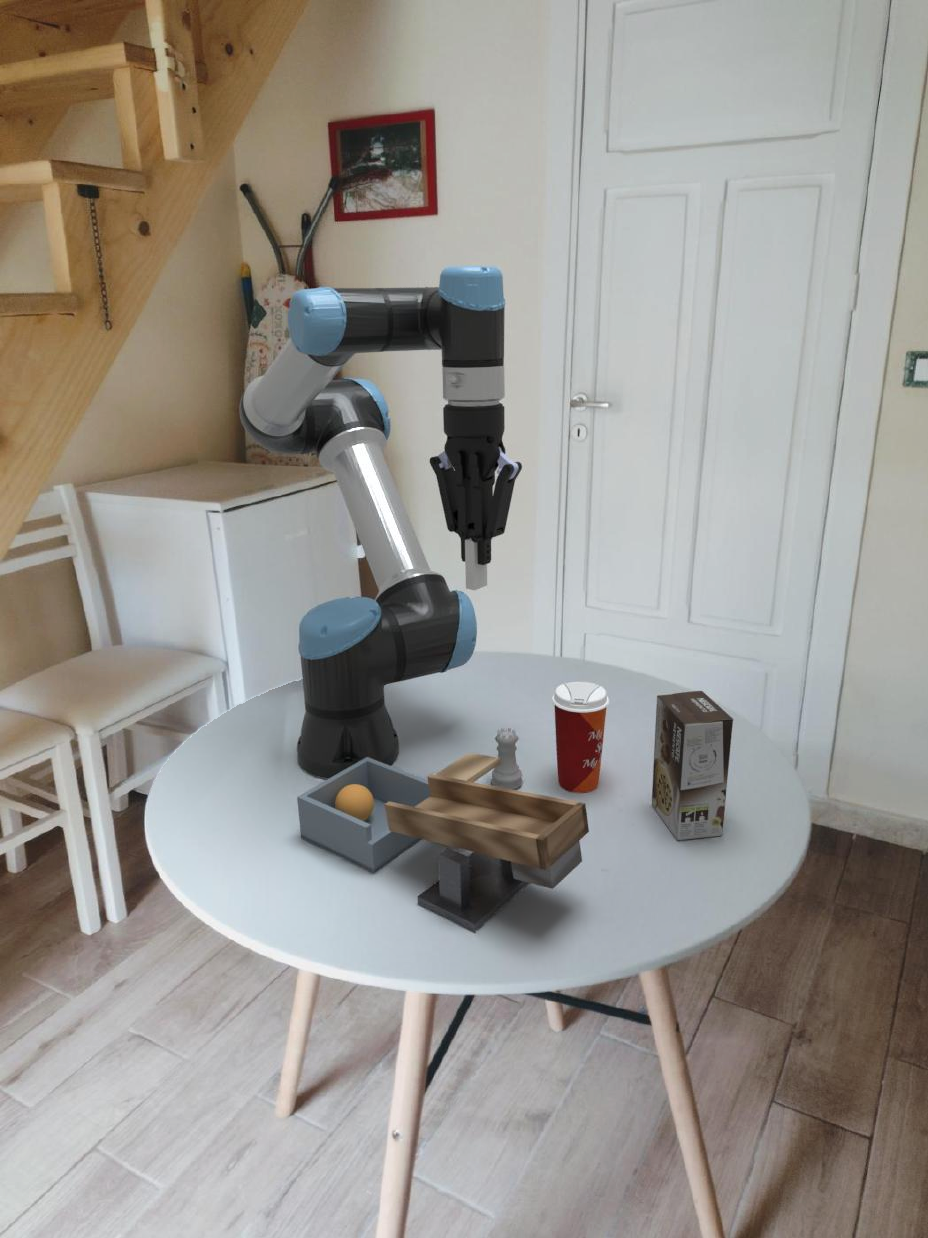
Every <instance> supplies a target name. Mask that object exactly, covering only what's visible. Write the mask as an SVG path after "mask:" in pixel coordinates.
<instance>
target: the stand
mask: <svg viewBox="0 0 928 1238" xmlns="http://www.w3.org/2000/svg"><path fill="white" fill-rule="evenodd" d="M437 856H438V857H437V858H438V880H436V881H435V882H433V883H432V885H430V886H429V887H428V888H426V889H424V891H422V892H421V893H420V894H418V895H417V904H418V905H419V906H421V907H423V908H425V909H427V910H429V911H431V912H433V913H436V914H437V915H439V916H441V917H444V918H445V919H447V920H450V921H451V922H453V923H455V924H457V925H460V926H462V927H464V928H466V929H467V930H470V931H472V932H474V933H476V932H477V931H478V930H479V929H480V928H481V927H482V926H483V925H484V924H486V923H487V922H488V921H489V920H490V919H492V917H494V916H495V915H496V914H497V913H498V912H499V911H500V910H501V909H502V908H504V906H505V905H507V904H508V903H509V902H510V901H511V900H512V899H513V898H515V896H517V895H518V894H519V893H520V892H521V891H523V889H525V888H526V887H527V886H528V885H529V884H530V883H528V882H524V881H521V880H517V879H514V878H513V871H512V865H511V861H507V860H503V859H499V858H495V857H491V856H487V855H483V854H479V853H476V852H472V853H471V854H469V855H466V854H464V853H461V852H459V851H457V850H454V849H453V848H449V847H446V848H445V849H443V850H442V851H441V852H440V853H438V855H437Z"/></svg>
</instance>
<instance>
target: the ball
mask: <svg viewBox="0 0 928 1238" xmlns="http://www.w3.org/2000/svg"><path fill="white" fill-rule="evenodd" d="M373 808H374V799H373V796H372V794H371V792H370V791H369V790H368V789H367V788H366V787H364V786H362V785H359V784H351V785H348V786H346V787H344V788H343V789H342V790H340V792H339V793H338V795H337V797H336V800H335V809H337V810H339V811H341V812H344V813H346V814H348V815H350V816H353V817H355V818H357V819H359V820H362V821H365V820H366V819H368V818H369V816H370V815H371V813H372V811H373Z"/></svg>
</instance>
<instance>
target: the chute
mask: <svg viewBox="0 0 928 1238" xmlns="http://www.w3.org/2000/svg"><path fill="white" fill-rule="evenodd" d="M499 764H501V762H500V758H499V757H498V756H491V755H484V754H479V753H474V752H467V753H466V754H464V755H463V756H461V757H459V758H458V759H457V760H455V761H454V762H452V763H451V764H449V765H447V766H446V767H444V768H443V769H441V770H440V771H438V772H437V773H435V774H433V773H432V774H429V775H428V776H427V777H426V780H428V784H429V790H430V797H428V798H427V799H425V800H424V801H422V802H421V803H420V804H418V805H417V806H415V807H412V806H408V805H403V804H399V803H394V802H390V801H389V802H387V803H386V804H384V805H385V811H386V816H387V821H388V827H389V831H392V832H396V833H400V834H404V835H408V836H412V837H416V838H420V839H422V840H425V841H429V842H433V843H436V844H440V845H444V846H447V847H453V848H456V849H460V850H463V851H468V852H472V853H473V852H476V853H479V854H483V855H487V856H491V857H495V858H499V859H503V860H507V861H511V865H512V871H513V878H514V879H517V880H521V881H524V882H528V883H529V884H532V885H536V886H539V887H543V888H548V889H552V890H554V889H555V888H556V887H557V886H558V885H559V884H560V883H561V882H562V881H563V880H564V879H565V878H566V877H567V876H568V875H569V874H571V873H572V872H573V870H574V869H576V868H577V867H578V866H579V865H580V864H581V863H582V862H583V857H582V850H581V842H580V841H581V840H582V839H583V838H584V837H585V836H586V835H587V834H588V833H589V832H590V829H589V821H588V813H587V806H586V802H581V801H576V800H570V799H567V798H566V799H565V798H561V797H560V798H559V797H555V796H550V795H545V794H544V795H543V794H538V793H534V792H533V793H532V792H527V791H523V790H517V789H514V790H513V789H507V788H502V787H497V786H494V785H490V784H486V783H481V782H480V783H479V782H476V781H477V780H479V779H481V778H482V777H484V776H485V775H487V774H488V773H489V772H492V771H493V770H494V768H495V767H496V766H498V765H499Z"/></svg>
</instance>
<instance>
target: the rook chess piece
mask: <svg viewBox="0 0 928 1238" xmlns="http://www.w3.org/2000/svg"><path fill="white" fill-rule="evenodd" d="M494 741H495V742H496V743H497V746H496V750H497V752H498V753H497V757H499V758H500V762H501V764H499V765H498V766H496V767H495V768H494V769H492V770H491V779H490V781H491V784H492V786H497V787H502V788H507V789H513V790H517V789H519V787H520V786H521V785H522V783H523V782H524V781H523V778H522V777H523V772H522V770H521V768H520V766H519V765H518V763H517V756H516V752H517V749H518V747H517V746H516V743H518V741H519V736H518V735H517V732H516V730H515V729H512V728H510V727H507V730H505V727H504V728H500V729H498V730H497V734H496V736H495V737H494Z"/></svg>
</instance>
